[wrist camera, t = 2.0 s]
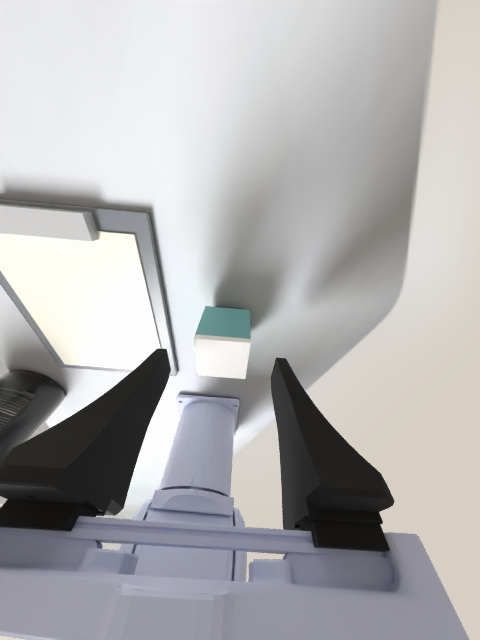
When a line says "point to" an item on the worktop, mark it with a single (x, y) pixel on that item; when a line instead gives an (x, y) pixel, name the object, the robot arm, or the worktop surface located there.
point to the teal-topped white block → (223, 342)
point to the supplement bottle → (25, 406)
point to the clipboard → (86, 283)
